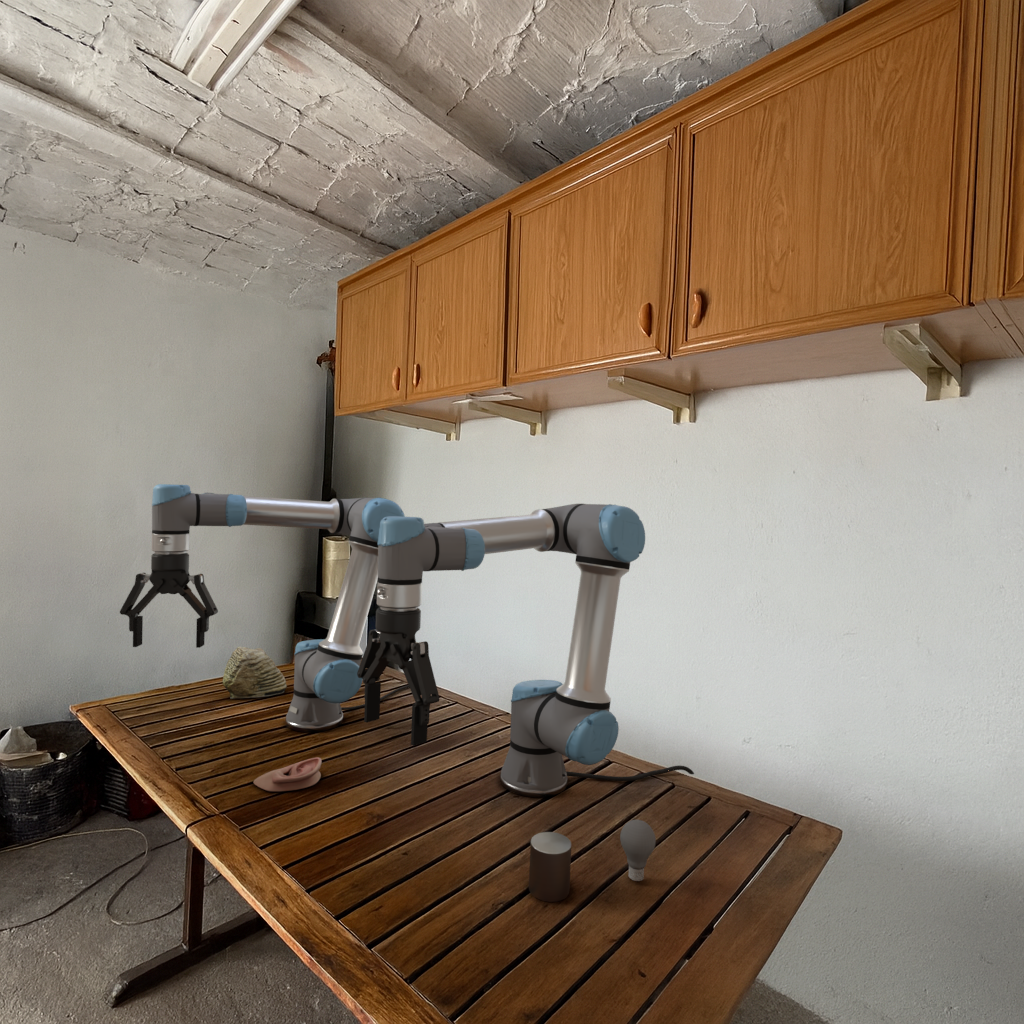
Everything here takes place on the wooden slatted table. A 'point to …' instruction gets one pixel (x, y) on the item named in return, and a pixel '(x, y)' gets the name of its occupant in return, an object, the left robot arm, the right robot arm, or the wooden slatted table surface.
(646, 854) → the light bulb
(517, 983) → the wooden slatted table surface
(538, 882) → the can
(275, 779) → the anatomical model
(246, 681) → the fossil
